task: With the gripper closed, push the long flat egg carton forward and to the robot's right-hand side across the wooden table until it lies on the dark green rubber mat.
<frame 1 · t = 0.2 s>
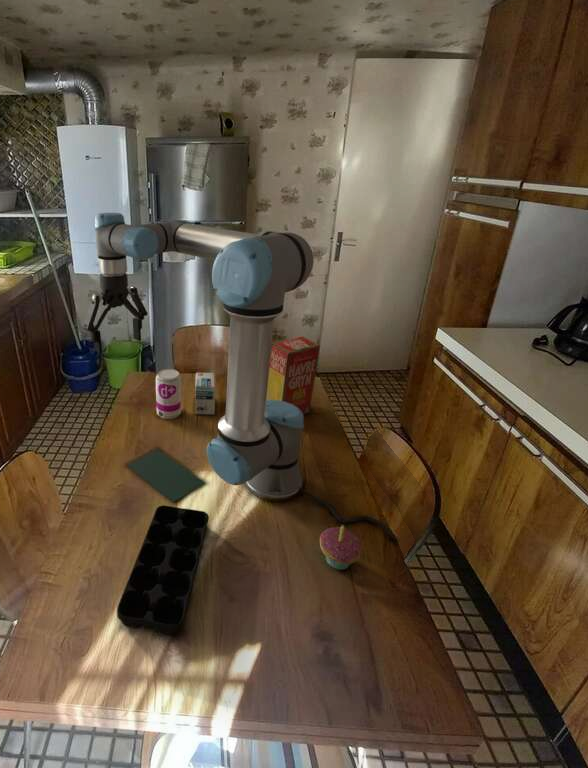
hand: (118, 345, 127), 28 cm above the table, tool pointing down, fingers open, 13 cm apart
food packaging: (287, 411, 149), on the table
light bulb box: (204, 407, 151), on the table
cupcake: (336, 560, 94), on the table
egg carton: (168, 569, 91), on the table
supplement can: (169, 413, 147), on the table
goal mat: (164, 473, 118), on the table
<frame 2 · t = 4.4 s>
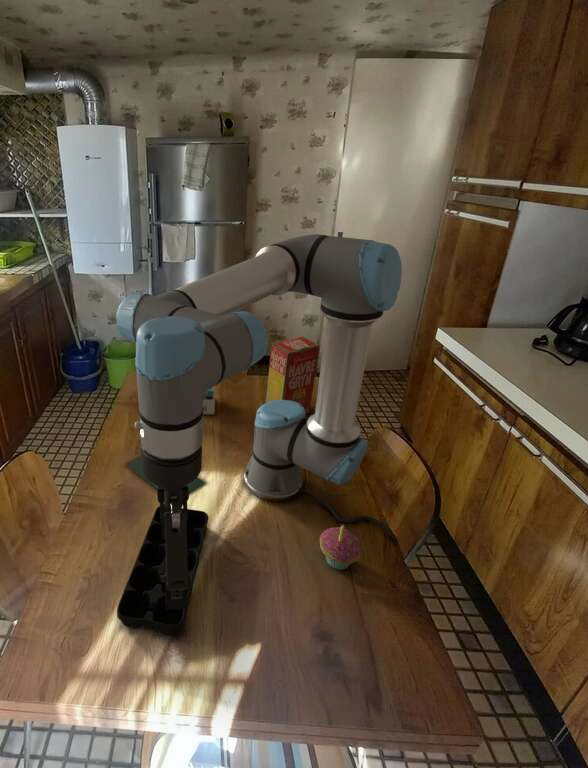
hand: (173, 569, 63), 24 cm above the table, tool pointing down, fingers open, 11 cm apart
nothing on the table moved.
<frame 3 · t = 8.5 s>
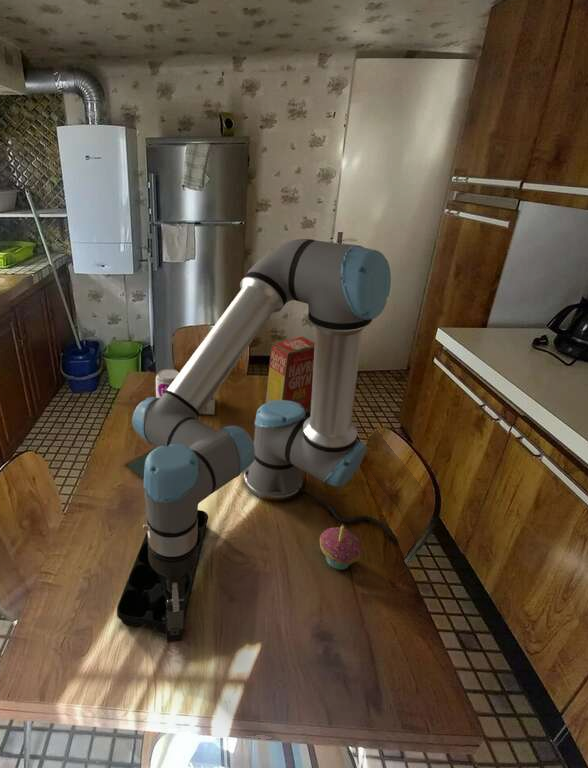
hand: (174, 637, 76), 2 cm above the table, tool pointing down, fingers closed
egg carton: (168, 569, 91), on the table, touching gripper
everything else where it was.
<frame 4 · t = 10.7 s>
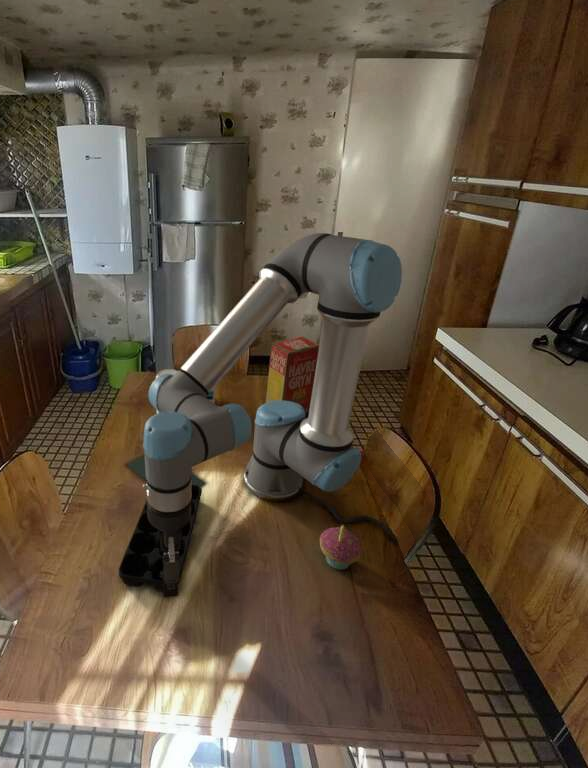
hand: (170, 593, 84), 2 cm above the table, tool pointing down, fingers closed
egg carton: (165, 537, 99), on the table, touching gripper
everything else where it was.
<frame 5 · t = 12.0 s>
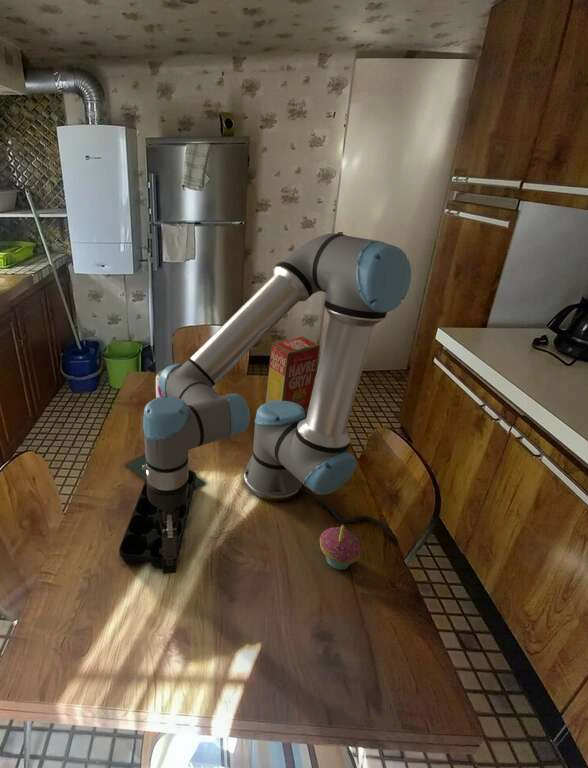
hand: (169, 570, 89), 2 cm above the table, tool pointing down, fingers closed
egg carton: (162, 519, 104), on the table, touching gripper
everything else where it was.
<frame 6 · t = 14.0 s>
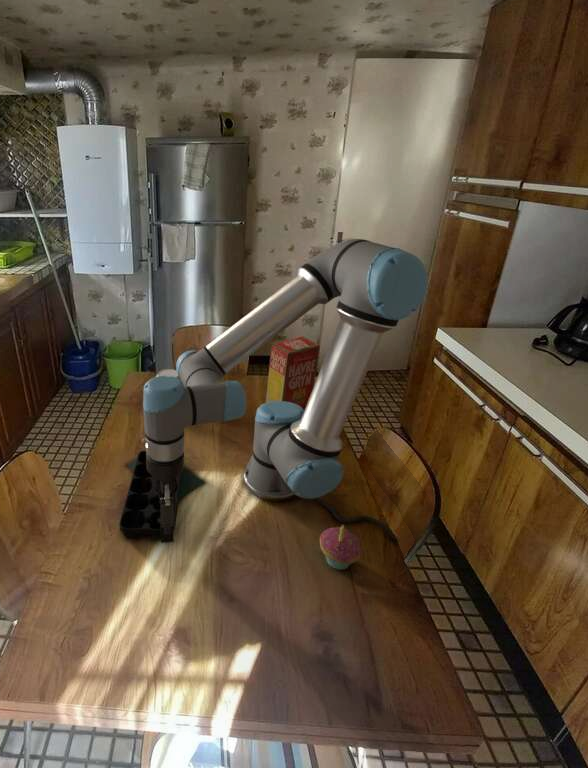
hand: (167, 539, 96), 2 cm above the table, tool pointing down, fingers closed
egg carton: (155, 497, 110), on the table, touching gripper
everything else where it was.
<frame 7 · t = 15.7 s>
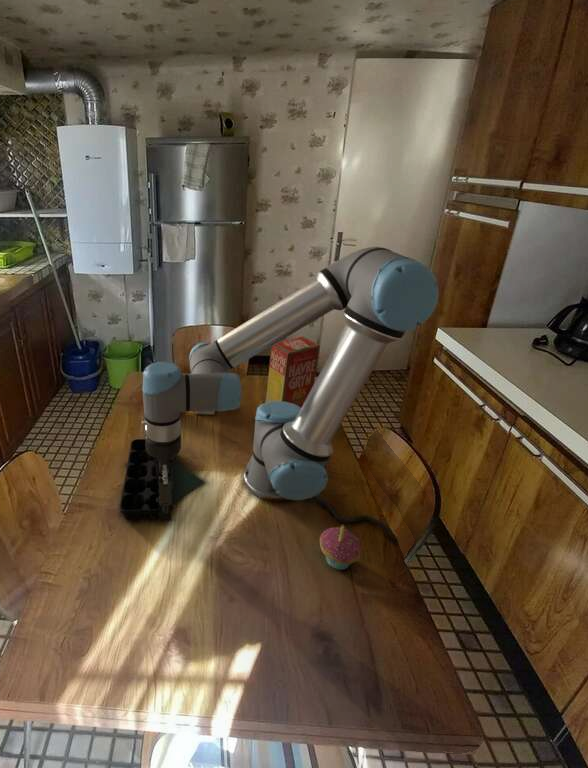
hand: (165, 518, 101), 2 cm above the table, tool pointing down, fingers closed
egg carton: (150, 481, 115), on the table, touching gripper
everything else where it was.
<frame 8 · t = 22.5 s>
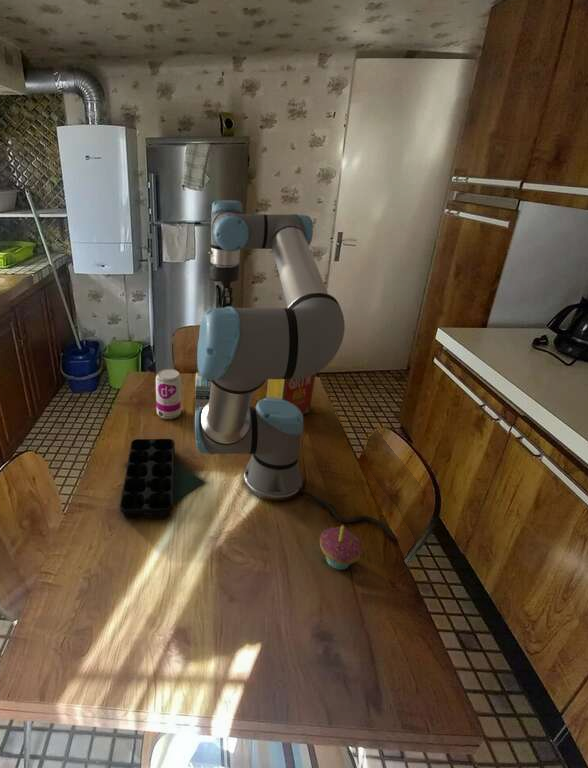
hand: (221, 348, 123), 29 cm above the table, tool pointing down, fingers closed
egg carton: (150, 481, 116), on the table, touching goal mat
everything else where it was.
at the end: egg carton inside the target area on the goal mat (4.8 cm from its centre), point 0.0 cm above the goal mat's base; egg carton moved 28.0 cm from its start; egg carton tilted 0° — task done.
